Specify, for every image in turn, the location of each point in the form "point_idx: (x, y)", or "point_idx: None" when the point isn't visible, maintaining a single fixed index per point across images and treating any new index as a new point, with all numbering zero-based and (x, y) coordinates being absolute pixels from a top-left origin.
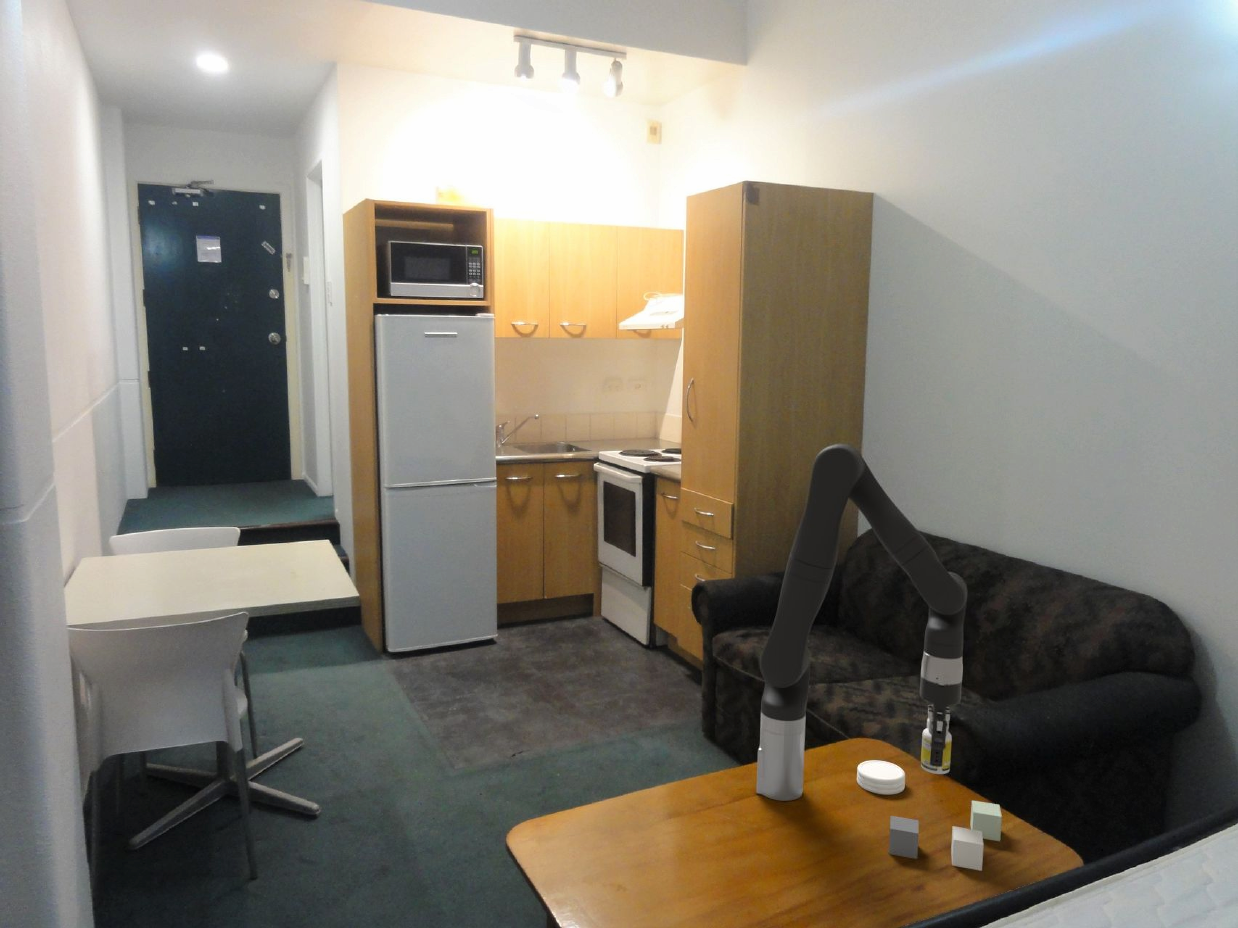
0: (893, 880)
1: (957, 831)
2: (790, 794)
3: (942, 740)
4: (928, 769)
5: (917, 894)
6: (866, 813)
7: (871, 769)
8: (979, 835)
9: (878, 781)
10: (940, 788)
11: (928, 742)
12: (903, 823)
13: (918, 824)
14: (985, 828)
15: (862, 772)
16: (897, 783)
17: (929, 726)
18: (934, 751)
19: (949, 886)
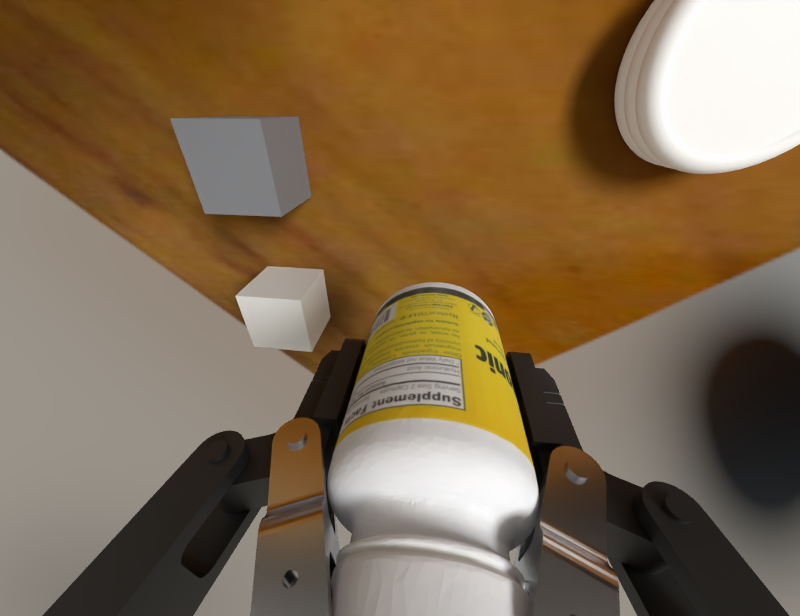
0: (116, 133)
1: (280, 307)
2: None
3: (228, 530)
4: (378, 311)
5: (109, 190)
6: (445, 11)
7: None
8: (289, 345)
9: (651, 44)
10: (654, 273)
11: (348, 420)
12: (233, 168)
13: (257, 215)
14: None
15: None
16: (644, 140)
17: (252, 601)
18: (301, 411)
19: (187, 254)
